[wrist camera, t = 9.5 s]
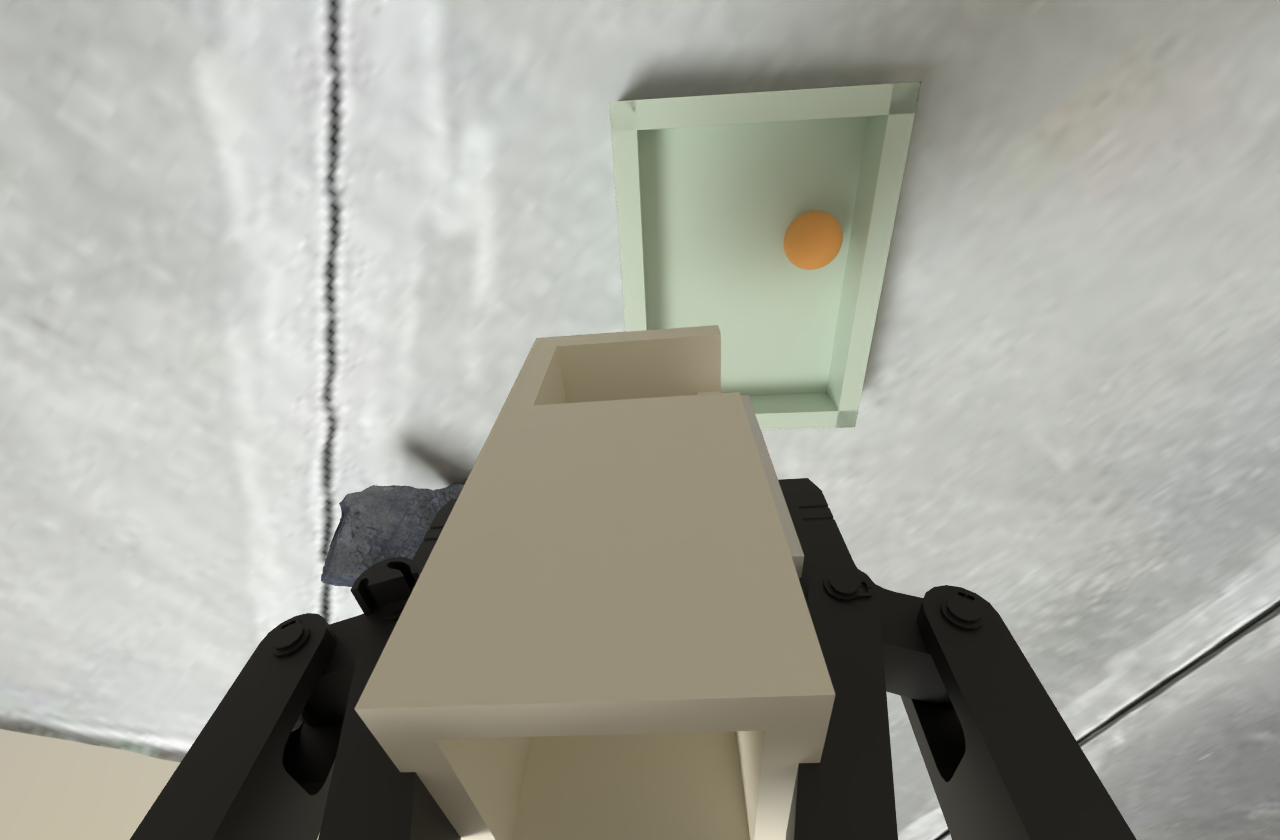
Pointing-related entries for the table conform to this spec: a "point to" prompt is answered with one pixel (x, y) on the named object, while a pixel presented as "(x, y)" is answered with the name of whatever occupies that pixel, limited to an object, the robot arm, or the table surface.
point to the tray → (764, 233)
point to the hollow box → (609, 614)
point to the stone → (381, 528)
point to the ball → (813, 240)
